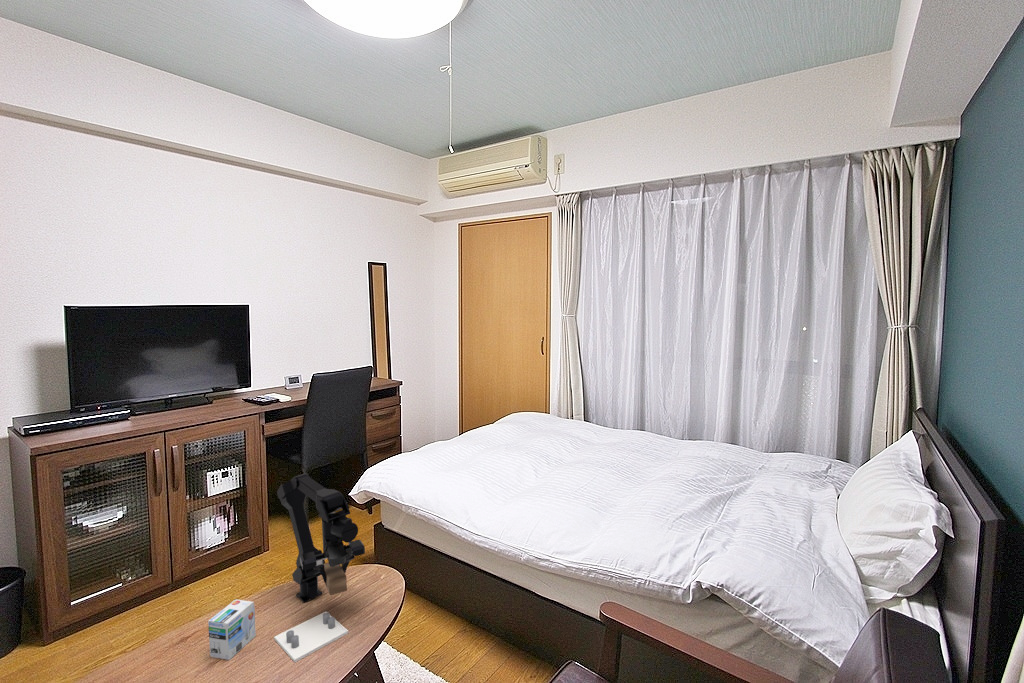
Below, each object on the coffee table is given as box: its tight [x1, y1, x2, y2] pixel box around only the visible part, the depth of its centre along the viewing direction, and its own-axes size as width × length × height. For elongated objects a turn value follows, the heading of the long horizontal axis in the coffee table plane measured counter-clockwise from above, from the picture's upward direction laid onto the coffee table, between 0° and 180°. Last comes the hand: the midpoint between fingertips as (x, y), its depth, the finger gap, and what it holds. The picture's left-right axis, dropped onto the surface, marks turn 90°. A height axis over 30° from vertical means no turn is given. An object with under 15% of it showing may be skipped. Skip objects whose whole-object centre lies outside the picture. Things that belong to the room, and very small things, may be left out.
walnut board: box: [324, 561, 348, 596], centre depth 154 cm, size 12×5×4 cm, turn 32°
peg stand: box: [273, 611, 349, 663], centre depth 144 cm, size 14×16×3 cm
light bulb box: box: [207, 598, 257, 661], centre depth 140 cm, size 11×7×11 cm, turn 168°
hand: (334, 580), depth 154 cm, fingers closed on walnut board, 5 cm apart
